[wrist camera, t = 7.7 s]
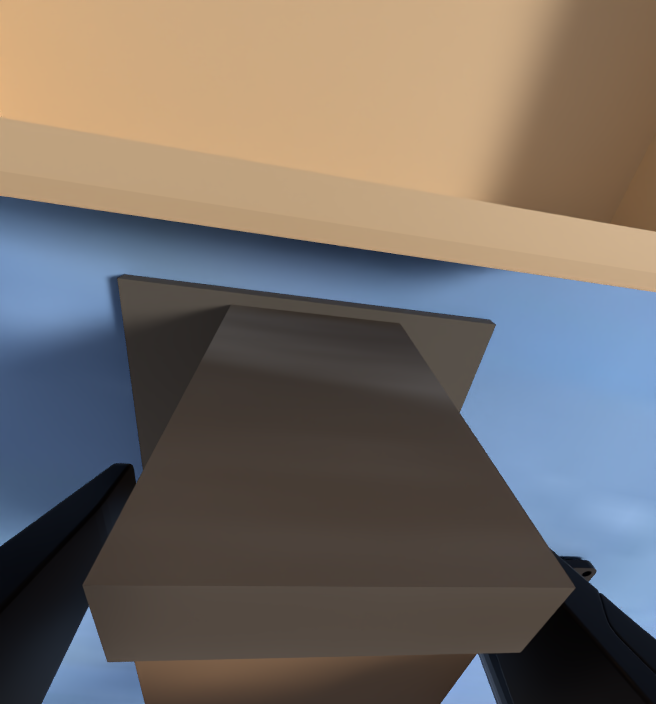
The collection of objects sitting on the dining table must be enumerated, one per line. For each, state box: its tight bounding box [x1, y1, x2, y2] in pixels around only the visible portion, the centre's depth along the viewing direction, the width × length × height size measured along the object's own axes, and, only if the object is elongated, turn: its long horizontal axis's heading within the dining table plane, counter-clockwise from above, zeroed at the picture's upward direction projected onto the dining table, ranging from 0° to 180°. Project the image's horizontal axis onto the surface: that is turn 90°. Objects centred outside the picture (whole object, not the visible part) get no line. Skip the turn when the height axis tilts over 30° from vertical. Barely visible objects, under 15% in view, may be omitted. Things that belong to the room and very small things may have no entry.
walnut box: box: [82, 304, 576, 704], centre depth 8 cm, size 8×5×7 cm, turn 172°
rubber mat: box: [117, 274, 496, 470], centre depth 12 cm, size 9×11×1 cm
